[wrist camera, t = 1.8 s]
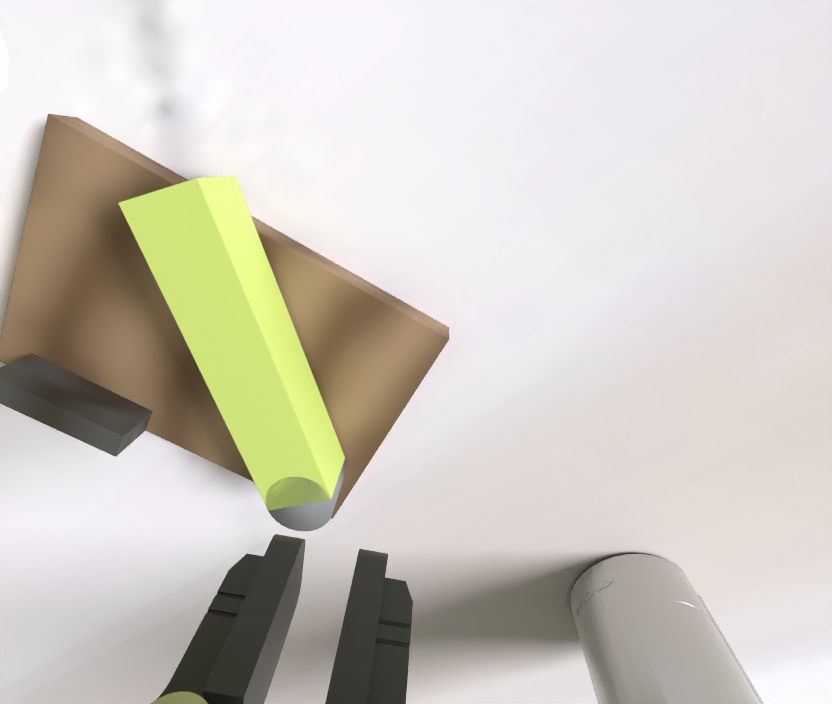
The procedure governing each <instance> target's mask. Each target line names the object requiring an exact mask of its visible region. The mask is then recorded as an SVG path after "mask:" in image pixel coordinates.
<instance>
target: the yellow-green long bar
mask: <svg viewBox="0 0 832 704" xmlns="http://www.w3.org/2000/svg"><path fill="white" fill-rule="evenodd" d="M118 204H119V206H120V208H121V210H122V212H123V214H124V216H125V218H126V220H127V222H128V224H129V226H130V228H131V230H132V232H133V234H134V236H135V238H136V241H137V243H138V245H139V247H140V249H141V251H142V253H143V255H144V257H145V259H146V261H147V263H148V265H149V267H150V269H151V271H152V273H153V275H154V277H155V279H156V282H157V284H158V286H159V288H160V290H161V292H162V294H163V296H164V298H165V300H166V302H167V304H168V306H169V308H170V310H171V312H172V314H173V316H174V318H175V320H176V323H177V325H178V327H179V329H180V331H181V333H182V335H183V337H184V339H185V341H186V343H187V345H188V347H189V349H190V351H191V353H192V355H193V357H194V359H195V362H196V364H197V366H198V368H199V370H200V372H201V374H202V376H203V378H204V380H205V382H206V384H207V386H208V388H209V390H210V392H211V394H212V396H213V398H214V400H215V403H216V405H217V407H218V409H219V411H220V413H221V415H222V417H223V419H224V421H225V423H226V425H227V427H228V429H229V431H230V433H231V435H232V437H233V439H234V441H235V444H236V446H237V448H238V450H239V452H240V454H241V456H242V458H243V460H244V462H245V464H246V466H247V468H248V470H249V472H250V474H251V476H252V478H253V480H254V482H255V485H256V487H257V489H258V491H259V493H260V495H261V497H262V499H263V501H264V503H265V505H266V507H267V509H268V511H269V513H270V514H271V516H272V517H273V518H274V519H275V520H276V521H277V522H278V523H280V524H281V525H283V526H285V527H287V528H289V529H293V530H297V531H312V530H316V529H318V528H320V527H322V526H324V525H325V524H326V523H327V522H328V521H329V520H330V518H331V516H332V513H333V510H334V507H335V504H336V501H337V498H338V495H339V491H340V488H341V485H342V482H343V479H344V476H345V473H346V468H347V463H346V459H345V456H344V454H343V451H342V448H341V446H340V443H339V441H338V438H337V436H336V433H335V431H334V428H333V425H332V423H331V420H330V418H329V415H328V413H327V410H326V407H325V405H324V402H323V400H322V397H321V395H320V392H319V390H318V387H317V384H316V382H315V379H314V377H313V374H312V372H311V369H310V366H309V364H308V361H307V359H306V356H305V354H304V351H303V349H302V346H301V343H300V341H299V338H298V336H297V333H296V331H295V328H294V325H293V323H292V320H291V318H290V315H289V313H288V310H287V308H286V305H285V302H284V300H283V297H282V295H281V292H280V290H279V287H278V284H277V282H276V279H275V277H274V274H273V272H272V269H271V267H270V264H269V261H268V259H267V256H266V254H265V251H264V249H263V246H262V243H261V241H260V238H259V236H258V233H257V231H256V228H255V226H254V223H253V220H252V218H251V215H250V213H249V210H248V208H247V205H246V202H245V200H244V197H243V195H242V192H241V190H240V187H239V185H238V182H237V179H236V177H235V176H223V177H206V178H195V179H192V180H189V181H186V182H183V183H180V184H176V185H173V186H170V187H167V188H164V189H160V190H157V191H154V192H151V193H148V194H145V195H141V196H138V197H135V198H132V199H129V200H126V201H122V202H119V203H118Z"/></svg>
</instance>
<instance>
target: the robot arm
mask: <svg viewBox="0 0 832 704" xmlns="http://www.w3.org/2000/svg"><path fill="white" fill-rule="evenodd" d="M304 551H305V539H300V538H294V537H288V536H283V535H277V534H275V535H274V536H273V538H272V540H271V542H270V544H269V547H268V549H267V551H266V553H265V555H264V557H263V556H257V555H252V554H246V555H245V556H244V557H243V558H242V559H241V560H240V561H238V562H237V563H236V564H235V565H234V566H233V567H232V568H231V569H230V570H229V571H228V573H227V575H226V577H225V579H224V580H223V582H222V584H221V586H220V588H219V590H218V593H217V595H216V596H215V597H214V599H213V601H212V603H211V605H210V607H209V609H208V612H207V613H206V615H205V616H204V618H203V620H202V622H201V624H200V626H199V628H198V630H197V632H196V633H195V635H194V637H193V639H192V641H191V643H190V645H189V647H188V649H187V650H186V652H185V654H184V656H183V658H182V660H181V662H180V664H179V666H178V668H177V669H176V671H175V673H174V675H173V677H172V679H171V681H170V682H169V684H168V686H167V687H166V689H165V690H164V691H163V693H162V694H161V695H160V696H159V697H158V698H157V700H155V701H153V702H152V703H151V704H264V702H265V699H266V696H267V693H268V690H269V687H270V684H271V681H272V678H273V675H274V672H275V669H276V666H277V663H278V660H279V657H280V654H281V651H282V648H283V645H284V642H285V639H286V636H287V633H288V630H289V627H290V624H291V621H292V618H293V615H294V611H295V608H296V605H297V601H298V597H299V593H300V587H301V580H302V570H303V560H304ZM387 559H388V554H386V553H380V552H374V551H369V550H363V549H359V553H358V557H357V562H356V567H355V571H354V576H353V580H352V585H351V589H350V594H349V598H348V603H347V608H346V612H345V617H344V621H343V626H342V630H341V635H340V639H339V644H338V649H337V653H336V658H335V662H334V667H333V671H332V676H331V681H330V685H329V690H328V694H327V699H326V703H325V704H406V690H407V675H408V661H409V645H410V633H411V619H412V605H413V601H412V598H411V596H410V593H409V590H408V587H407V584H406V581H401V580H395V579H390V578H385V573H386V566H387ZM570 604H571V610H572V613H573V617H574V620H575V624H576V627H577V631H578V634H579V638H580V641H581V645H582V648H583V652H584V656H585V659H586V663H587V666H588V670H589V673H590V677H591V680H592V684H593V687H594V691H595V694H596V698H597V701H598V704H764V703H763V702H762V700H761V698H760V697H759V695H758V693H757V692H756V690H755V688H754V687H753V685H752V683H751V681H750V680H749V678H748V676H747V675H746V673H745V671H744V670H743V668H742V666H741V665H740V663H739V661H738V659H737V658H736V656H735V654H734V653H733V651H732V649H731V648H730V646H729V644H728V643H727V641H726V639H725V637H724V636H723V634H722V632H721V631H720V629H719V627H718V626H717V624H716V622H715V621H714V619H713V617H712V616H711V614H710V612H709V610H708V609H707V607H706V605H705V604H704V602H703V600H702V599H701V597H700V596H699V595H697V594H696V592H695V591H694V589H693V587H692V586H691V584H690V582H689V581H688V579H687V577H686V576H685V574H684V573H683V571H682V570H681V569H679V568H678V567H677V566H676V565H675V564H673V563H671V562H669V561H667V560H666V559H663V558H660V557H657V556H653V555H646V554H626V555H620V556H615V557H612V558H609V559H606V560H603V561H601V562H599V563H597V564H595V565H593V566H592V567H590V568H589V569H588V570H586V571H585V572H584V573H583V574H582V575H581V576H580V577H579V578H578V580H577V581H576V582H575V584H574V586H573V588H572V590H571V596H570Z"/></svg>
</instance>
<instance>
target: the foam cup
mask: <svg viewBox="0 0 832 704" xmlns="http://www.w3.org/2000/svg"><path fill="white" fill-rule="evenodd" d="M8 59H9V56H8V53H7V50H6V47H5V44H4V41H3V38H2V35H1V32H0V95H1V94H2V92H3V90H4V89H5V87H6V86H7V80H8Z"/></svg>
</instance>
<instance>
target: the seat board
mask: <svg viewBox="0 0 832 704" xmlns="http://www.w3.org/2000/svg"><path fill="white" fill-rule="evenodd" d="M186 181H189V180H187V179H185V178H183V177H181V176H180V175H178V174H176V173H174V172H173V171H171V170H169V169H167V168H166V167H164V166H162V165H160V164H158V163H157V162H155V161H153V160H151V159H150V158H148V157H146V156H144V155H143V154H141V153H139V152H137V151H135V150H134V149H132V148H130V147H128V146H127V145H125V144H123V143H121V142H120V141H118V140H116V139H114V138H112V137H111V136H109V135H107V134H105V133H104V132H102V131H100V130H98V129H97V128H95V127H93V126H91V125H89V124H88V123H86V122H84V121H82V120H81V119H79V118H77V117H69V116H61V115H53V114H48V117H47V122H46V127H45V132H44V136H43V141H42V146H41V150H40V155H39V160H38V165H37V169H36V174H35V179H34V183H33V188H32V193H31V198H30V202H29V207H28V212H27V216H26V221H25V226H24V231H23V235H22V240H21V245H20V249H19V254H18V259H17V263H16V268H15V273H14V278H13V282H12V287H11V292H10V296H9V301H8V306H7V311H6V315H5V320H4V325H3V329H2V334H1V339H0V361H1V362H3V363H5V364H7V365H6V366H3V367H1V368H0V404H3V405H5V406H7V407H9V408H11V409H13V410H16V411H18V412H20V413H22V414H24V415H26V416H29V417H31V418H33V419H35V420H37V421H39V422H42V423H44V424H46V425H48V426H50V427H52V428H55V429H57V430H59V431H61V432H63V433H65V434H68V435H70V436H72V437H74V438H76V439H78V440H81V441H83V442H85V443H87V444H89V445H91V446H94V447H96V448H98V449H100V450H102V451H104V452H107V453H109V454H111V455H113V456H115V457H116V456H117V455H118V454H119V453H121V452H122V451H123V450H124V449H125V448H126V447H127V446H128V445H129V444H131V443H132V442H133V441H134V440H135V439H136V438H137V437H138V436H140V435H141V434H142V433H143V432H144V431H145V430H146V431H148V432H150V433H152V434H155V435H157V436H159V437H161V438H163V439H165V440H167V441H169V442H171V443H174V444H176V445H178V446H180V447H182V448H184V449H186V450H188V451H190V452H192V453H195V454H197V455H199V456H201V457H203V458H205V459H207V460H209V461H211V462H214V463H216V464H218V465H220V466H222V467H224V468H226V469H228V470H230V471H232V472H235V473H237V474H239V475H241V476H243V477H245V478H247V479H249V480H251V481H254V480H253V478H252V476H251V474H250V472H249V470H248V468H247V466H246V464H245V462H244V460H243V458H242V456H241V454H240V452H239V450H238V448H237V446H236V444H235V441H234V439H233V437H232V435H231V433H230V431H229V429H228V427H227V425H226V423H225V421H224V419H223V417H222V415H221V413H220V411H219V409H218V407H217V405H216V403H215V400H214V398H213V396H212V394H211V392H210V390H209V388H208V386H207V384H206V382H205V380H204V378H203V376H202V374H201V372H200V370H199V368H198V366H197V364H196V362H195V359H194V357H193V355H192V353H191V351H190V349H189V347H188V345H187V343H186V341H185V339H184V337H183V335H182V333H181V331H180V329H179V327H178V325H177V323H176V320H175V318H174V316H173V314H172V312H171V310H170V308H169V306H168V304H167V302H166V300H165V298H164V296H163V294H162V292H161V290H160V288H159V286H158V284H157V282H156V279H155V277H154V275H153V273H152V271H151V269H150V267H149V265H148V263H147V261H146V259H145V257H144V255H143V253H142V251H141V249H140V247H139V245H138V243H137V241H136V238H135V236H134V234H133V232H132V230H131V228H130V226H129V224H128V222H127V220H126V218H125V216H124V214H123V212H122V210H121V208H120V206H119V204H118V203H119V202H122V201H126V200H129V199H132V198H135V197H138V196H141V195H145V194H148V193H151V192H154V191H157V190H160V189H164V188H167V187H170V186H173V185H176V184H180V183H183V182H186ZM251 218H252V220H253V223H254V226H255V228H256V231H257V233H258V236H259V238H260V241H261V243H262V246H263V249H264V251H265V254H266V256H267V259H268V261H269V264H270V267H271V269H272V272H273V274H274V277H275V279H276V282H277V284H278V287H279V290H280V292H281V295H282V297H283V300H284V302H285V305H286V308H287V310H288V313H289V315H290V318H291V320H292V323H293V325H294V328H295V331H296V333H297V336H298V338H299V341H300V343H301V346H302V349H303V351H304V354H305V356H306V359H307V361H308V364H309V366H310V369H311V372H312V374H313V377H314V379H315V382H316V384H317V387H318V390H319V392H320V395H321V397H322V400H323V402H324V405H325V407H326V410H327V413H328V415H329V418H330V420H331V423H332V425H333V428H334V431H335V433H336V436H337V438H338V441H339V443H340V446H341V448H342V451H343V454H344V456H345V459H346V463H347V468H346V473H345V476H344V479H343V482H342V485H341V488H340V491H339V495H338V498H337V501H336V504H335V507H334V510H333V513H332V516H331V519H333V517H334V516H335V514H336V513H337V511H338V509H339V508H340V506H341V505H342V503H343V502H344V500H345V499H346V497H347V496H348V494H349V493H350V491H351V489H352V488H353V486H354V485H355V483H356V482H357V480H358V479H359V477H360V476H361V474H362V473H363V471H364V469H365V468H366V466H367V465H368V463H369V462H370V460H371V459H372V457H373V456H374V454H375V452H376V451H377V449H378V448H379V446H380V445H381V443H382V442H383V440H384V439H385V437H386V436H387V434H388V432H389V431H390V429H391V428H392V426H393V425H394V423H395V422H396V420H397V419H398V417H399V416H400V414H401V412H402V411H403V409H404V408H405V406H406V405H407V403H408V402H409V400H410V399H411V397H412V395H413V394H414V392H415V391H416V389H417V388H418V386H419V385H420V383H421V382H422V380H423V379H424V377H425V375H426V374H427V372H428V371H429V369H430V368H431V366H432V365H433V363H434V362H435V360H436V359H437V357H438V355H439V354H440V352H441V351H442V349H443V348H444V346H445V345H446V343H447V342H448V340H449V327H447V326H445V325H443V324H441V323H440V322H438V321H436V320H434V319H433V318H431V317H429V316H427V315H426V314H424V313H422V312H420V311H418V310H417V309H415V308H413V307H411V306H410V305H408V304H406V303H404V302H403V301H401V300H399V299H397V298H395V297H394V296H392V295H390V294H388V293H387V292H385V291H383V290H381V289H380V288H378V287H376V286H374V285H372V284H371V283H369V282H367V281H365V280H364V279H362V278H360V277H358V276H357V275H355V274H353V273H351V272H349V271H348V270H346V269H344V268H342V267H341V266H339V265H337V264H335V263H334V262H332V261H330V260H328V259H326V258H325V257H323V256H321V255H319V254H318V253H316V252H314V251H312V250H311V249H309V248H307V247H305V246H303V245H302V244H300V243H298V242H296V241H295V240H293V239H291V238H289V237H288V236H286V235H284V234H282V233H280V232H279V231H277V230H275V229H273V228H272V227H270V226H268V225H266V224H265V223H263V222H261V221H259V220H258V219H256V218H254V217H252V216H251Z"/></svg>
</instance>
